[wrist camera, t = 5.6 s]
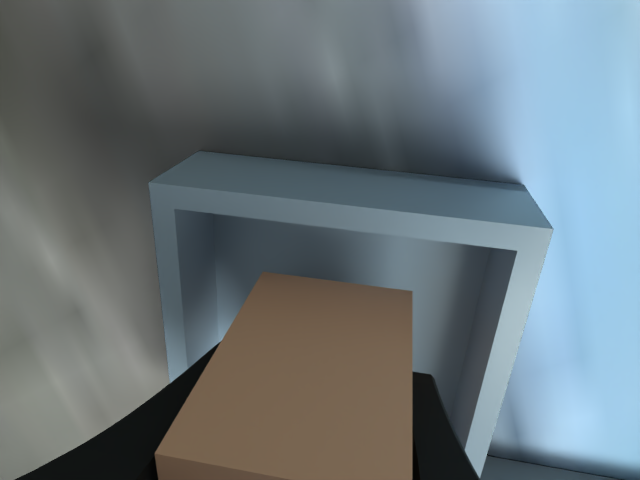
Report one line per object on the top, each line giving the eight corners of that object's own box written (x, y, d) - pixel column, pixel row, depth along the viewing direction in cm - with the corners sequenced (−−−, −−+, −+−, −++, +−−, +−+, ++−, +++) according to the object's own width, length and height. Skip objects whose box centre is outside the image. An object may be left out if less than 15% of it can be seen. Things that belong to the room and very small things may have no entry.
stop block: (263, 385, 14) (176, 600, 9) (262, 271, 13) (154, 453, 7) (394, 407, 14) (383, 648, 9) (412, 291, 12) (413, 502, 7)
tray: (212, 389, 18) (177, 454, 15) (198, 151, 14) (148, 182, 11) (460, 432, 17) (470, 511, 14) (524, 184, 13) (553, 229, 10)
